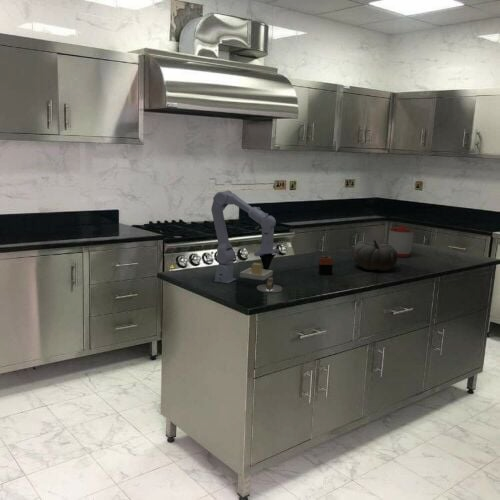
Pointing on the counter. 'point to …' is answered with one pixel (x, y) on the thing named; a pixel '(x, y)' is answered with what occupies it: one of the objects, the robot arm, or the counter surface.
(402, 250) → the citrus juicer
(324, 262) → the battery
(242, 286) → the counter surface
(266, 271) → the tray
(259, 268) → the stop block
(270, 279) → the crank lever
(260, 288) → the crank base
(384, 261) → the gourd
